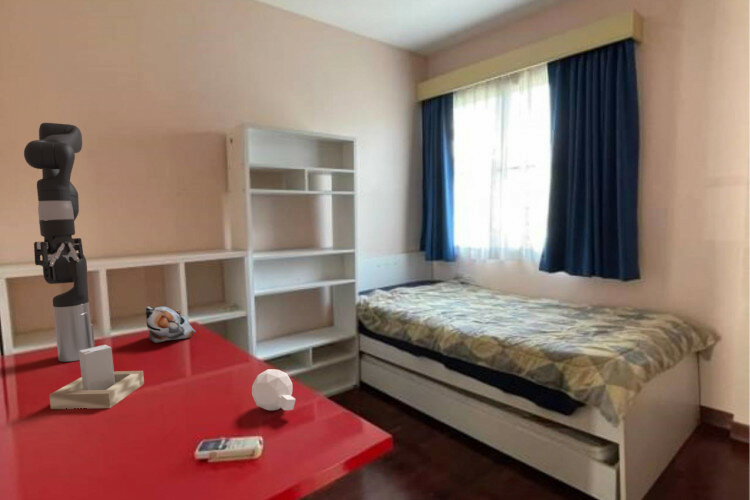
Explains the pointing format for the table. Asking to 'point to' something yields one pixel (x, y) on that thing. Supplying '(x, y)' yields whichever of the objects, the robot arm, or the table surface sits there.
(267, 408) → the perfume bottle
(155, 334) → the lucky cat figurine
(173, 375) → the table surface
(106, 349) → the skincare box
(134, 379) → the square wooden frame
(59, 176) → the robot arm
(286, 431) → the table surface
